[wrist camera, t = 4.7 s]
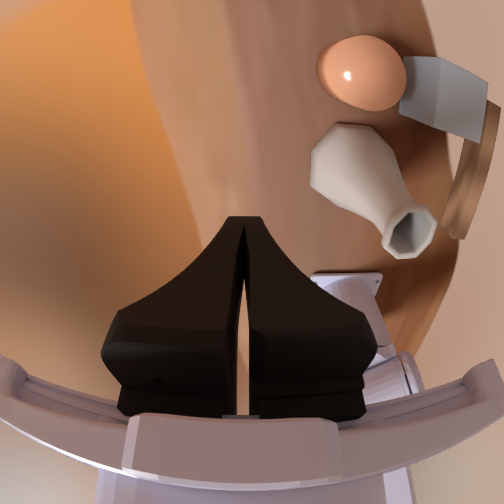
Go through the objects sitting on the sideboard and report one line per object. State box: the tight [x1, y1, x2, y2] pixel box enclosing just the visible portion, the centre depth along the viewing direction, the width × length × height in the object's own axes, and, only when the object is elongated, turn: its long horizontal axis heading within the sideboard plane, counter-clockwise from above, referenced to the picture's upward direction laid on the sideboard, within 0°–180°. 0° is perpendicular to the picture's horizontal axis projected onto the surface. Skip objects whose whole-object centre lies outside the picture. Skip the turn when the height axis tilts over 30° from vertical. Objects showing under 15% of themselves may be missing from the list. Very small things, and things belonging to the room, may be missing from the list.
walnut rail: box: [440, 100, 501, 239], centre depth 18 cm, size 14×2×2 cm, turn 179°
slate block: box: [399, 56, 488, 143], centre depth 13 cm, size 5×5×5 cm
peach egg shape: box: [316, 35, 406, 111], centre depth 14 cm, size 5×5×4 cm
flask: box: [310, 123, 438, 259], centre depth 16 cm, size 7×7×10 cm
